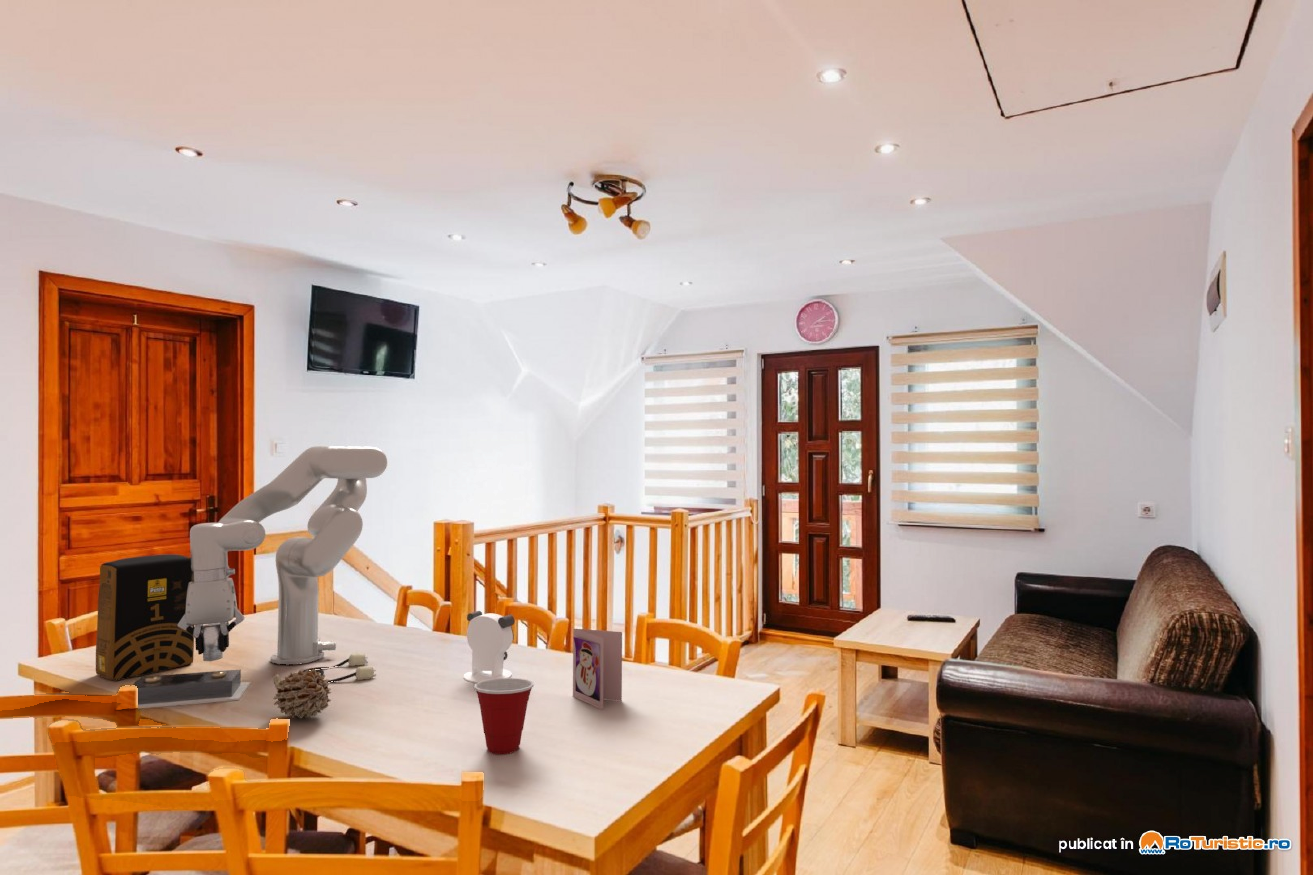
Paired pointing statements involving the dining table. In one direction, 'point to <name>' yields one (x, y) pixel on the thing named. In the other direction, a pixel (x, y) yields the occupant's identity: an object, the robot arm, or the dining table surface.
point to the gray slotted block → (187, 686)
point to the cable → (353, 660)
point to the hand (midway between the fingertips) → (212, 650)
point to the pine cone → (302, 693)
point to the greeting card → (597, 666)
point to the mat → (235, 696)
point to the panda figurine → (489, 645)
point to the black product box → (142, 616)
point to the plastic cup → (503, 712)
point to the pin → (211, 642)
